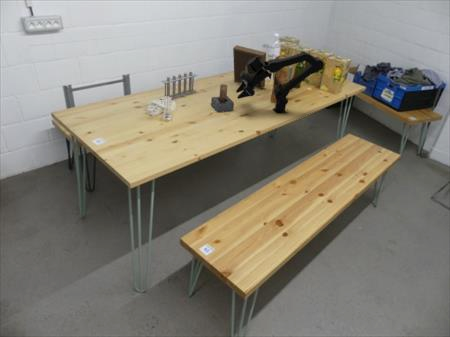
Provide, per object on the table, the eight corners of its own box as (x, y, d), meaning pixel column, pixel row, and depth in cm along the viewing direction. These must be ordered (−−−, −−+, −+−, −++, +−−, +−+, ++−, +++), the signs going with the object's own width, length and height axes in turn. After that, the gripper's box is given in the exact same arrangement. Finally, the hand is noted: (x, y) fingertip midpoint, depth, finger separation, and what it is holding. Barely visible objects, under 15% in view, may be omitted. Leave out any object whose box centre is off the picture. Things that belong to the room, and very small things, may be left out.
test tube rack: (166, 101, 212) (165, 79, 205) (161, 98, 215) (160, 77, 207) (196, 92, 229) (197, 71, 221) (191, 90, 231) (192, 69, 224)
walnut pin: (226, 107, 211) (228, 85, 204) (222, 108, 208) (224, 87, 201) (221, 105, 213) (223, 83, 206) (217, 106, 210) (218, 85, 203)
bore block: (233, 110, 209) (234, 102, 206) (217, 112, 205) (217, 103, 202) (226, 103, 216) (227, 96, 214) (211, 105, 213) (211, 97, 210)
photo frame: (237, 79, 254) (241, 43, 241) (264, 87, 246) (270, 50, 232) (226, 85, 244) (229, 47, 230) (254, 93, 235) (259, 55, 221)
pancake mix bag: (264, 101, 226) (270, 56, 210) (281, 94, 238) (289, 51, 223) (272, 104, 222) (280, 59, 207) (290, 97, 234) (298, 54, 219)
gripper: (247, 61, 206) (227, 79, 211) (251, 72, 190) (228, 90, 195) (259, 76, 211) (238, 92, 216) (264, 87, 195) (241, 105, 200)
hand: (236, 95), depth 207 cm, fingers open, 9 cm apart
